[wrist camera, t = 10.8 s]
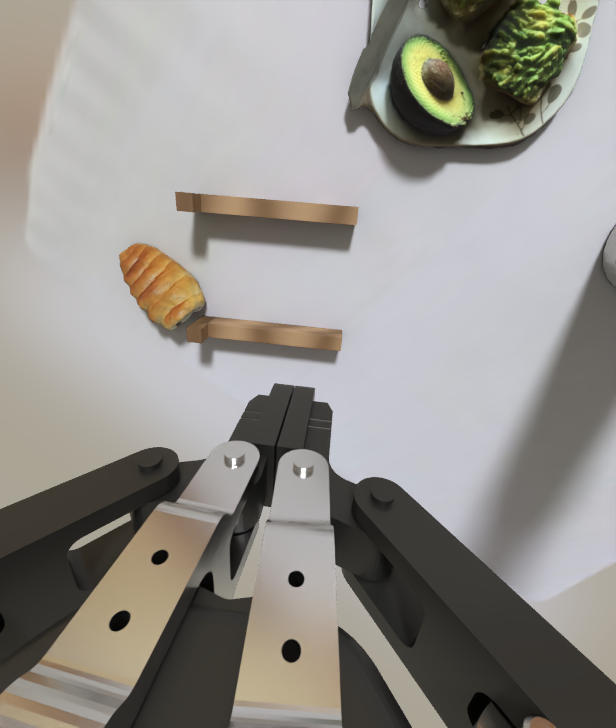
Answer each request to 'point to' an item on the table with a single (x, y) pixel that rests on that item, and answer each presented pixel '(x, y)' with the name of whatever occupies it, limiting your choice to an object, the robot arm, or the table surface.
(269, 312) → the table surface
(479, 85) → the salad plate
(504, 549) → the table surface
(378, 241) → the table surface
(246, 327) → the pair of wooden bars
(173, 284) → the pastry
